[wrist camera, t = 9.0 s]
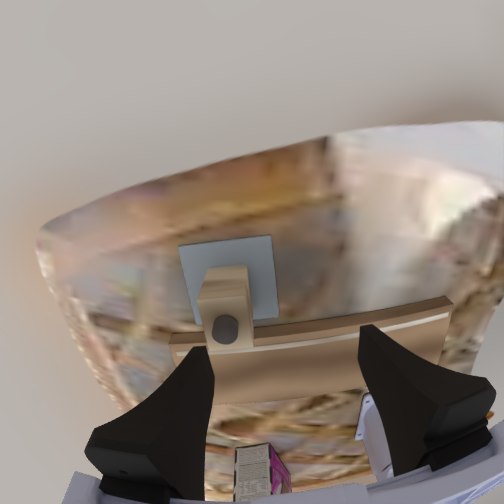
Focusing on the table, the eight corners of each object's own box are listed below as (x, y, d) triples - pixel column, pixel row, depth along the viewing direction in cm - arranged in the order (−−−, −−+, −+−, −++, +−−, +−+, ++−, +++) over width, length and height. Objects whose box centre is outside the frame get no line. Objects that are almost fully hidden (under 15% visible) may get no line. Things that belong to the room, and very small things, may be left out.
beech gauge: (253, 309, 24) (253, 356, 18) (217, 312, 24) (207, 360, 18) (246, 263, 22) (244, 303, 17) (207, 268, 22) (193, 308, 17)
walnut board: (430, 358, 26) (437, 367, 25) (193, 393, 28) (191, 405, 26) (445, 296, 24) (454, 304, 22) (172, 333, 25) (168, 345, 23)
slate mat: (278, 315, 24) (279, 317, 24) (196, 322, 24) (196, 324, 24) (270, 234, 22) (270, 235, 21) (178, 245, 22) (178, 246, 22)
